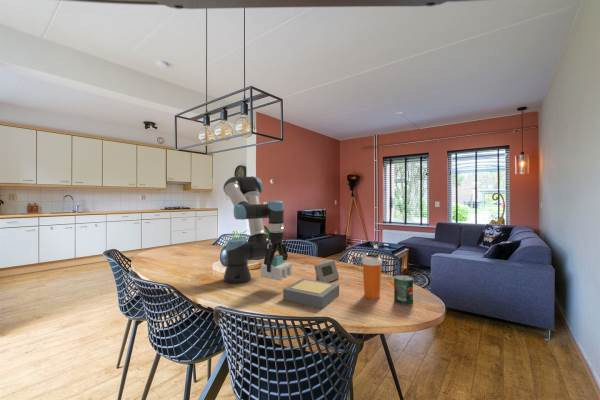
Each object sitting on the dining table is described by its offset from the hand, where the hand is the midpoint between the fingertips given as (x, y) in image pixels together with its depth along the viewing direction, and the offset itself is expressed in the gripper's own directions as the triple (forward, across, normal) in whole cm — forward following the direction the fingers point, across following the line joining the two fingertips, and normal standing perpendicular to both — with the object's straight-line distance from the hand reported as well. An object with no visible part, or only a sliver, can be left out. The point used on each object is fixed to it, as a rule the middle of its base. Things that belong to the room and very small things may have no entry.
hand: (276, 275), depth 137 cm
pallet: (0, 0, 0) cm, 0 cm away
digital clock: (+8, +24, -17) cm, 31 cm away
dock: (+7, 0, -20) cm, 22 cm away
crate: (-6, 0, 0) cm, 6 cm away
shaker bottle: (+7, +15, -44) cm, 47 cm away
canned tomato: (+7, +15, -58) cm, 61 cm away
